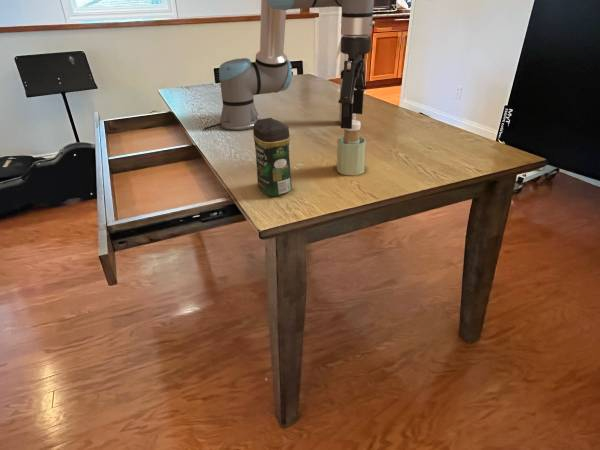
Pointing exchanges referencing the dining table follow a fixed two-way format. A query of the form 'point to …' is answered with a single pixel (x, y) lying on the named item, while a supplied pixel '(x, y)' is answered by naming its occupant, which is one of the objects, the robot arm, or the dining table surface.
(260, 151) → the coffee jar
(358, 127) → the sprinkles bottle
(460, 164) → the dining table surface
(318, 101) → the dining table surface
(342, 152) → the cup
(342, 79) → the travel mug
